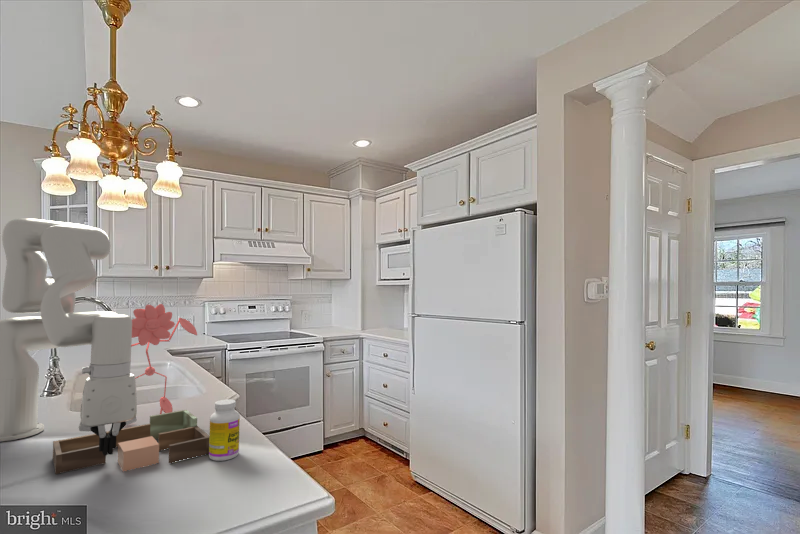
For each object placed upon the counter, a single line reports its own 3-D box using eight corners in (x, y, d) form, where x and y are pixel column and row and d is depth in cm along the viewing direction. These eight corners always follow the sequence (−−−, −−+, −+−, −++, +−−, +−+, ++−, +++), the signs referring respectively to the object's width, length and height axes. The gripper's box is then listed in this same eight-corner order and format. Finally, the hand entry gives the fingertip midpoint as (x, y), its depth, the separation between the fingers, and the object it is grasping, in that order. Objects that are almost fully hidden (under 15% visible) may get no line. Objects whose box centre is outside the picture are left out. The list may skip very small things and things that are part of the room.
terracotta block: (117, 462, 101) (118, 443, 101) (151, 454, 105) (152, 436, 106) (123, 472, 96) (123, 451, 96) (158, 464, 100) (159, 444, 100)
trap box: (52, 458, 102) (53, 432, 103) (185, 431, 121) (186, 409, 122) (58, 491, 87) (59, 460, 87) (210, 453, 106) (211, 428, 106)
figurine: (91, 426, 125) (96, 304, 126) (187, 409, 143) (191, 301, 144) (101, 442, 114) (106, 307, 115) (204, 421, 132) (207, 304, 132)
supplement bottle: (228, 463, 100) (229, 406, 101) (202, 460, 102) (203, 404, 102) (244, 452, 107) (245, 399, 107) (220, 449, 108) (221, 397, 109)
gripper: (70, 377, 90) (66, 468, 89) (152, 369, 100) (149, 450, 99) (67, 371, 95) (63, 456, 95) (145, 363, 105) (142, 440, 105)
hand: (107, 453), depth 97 cm, fingers closed
